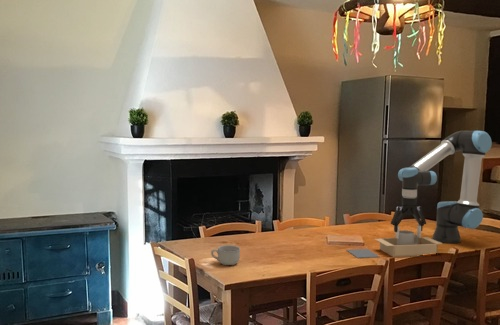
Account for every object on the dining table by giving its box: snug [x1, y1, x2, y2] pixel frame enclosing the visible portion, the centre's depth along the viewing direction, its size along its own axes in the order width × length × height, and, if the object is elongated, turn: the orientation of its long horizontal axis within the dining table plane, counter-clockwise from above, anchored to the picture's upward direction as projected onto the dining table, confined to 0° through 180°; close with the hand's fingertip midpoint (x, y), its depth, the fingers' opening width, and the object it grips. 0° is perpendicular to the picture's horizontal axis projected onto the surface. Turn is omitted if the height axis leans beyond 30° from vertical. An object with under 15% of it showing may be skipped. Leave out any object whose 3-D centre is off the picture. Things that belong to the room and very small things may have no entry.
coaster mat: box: [346, 248, 380, 259], centre depth 248 cm, size 12×15×1 cm
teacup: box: [210, 244, 241, 266], centre depth 228 cm, size 14×11×8 cm
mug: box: [397, 230, 418, 245], centre depth 251 cm, size 12×8×11 cm
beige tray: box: [374, 236, 444, 258], centre depth 252 cm, size 31×17×6 cm, turn 100°
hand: (407, 237), depth 251 cm, fingers closed on mug, 12 cm apart
